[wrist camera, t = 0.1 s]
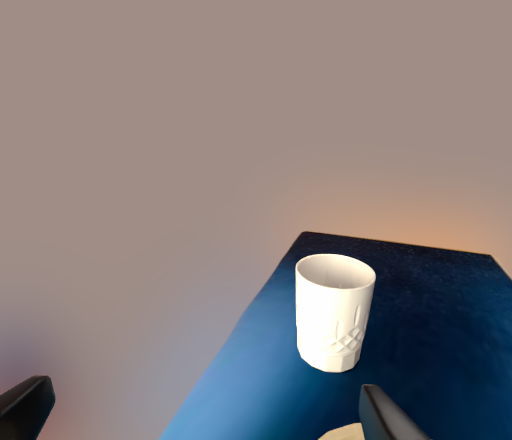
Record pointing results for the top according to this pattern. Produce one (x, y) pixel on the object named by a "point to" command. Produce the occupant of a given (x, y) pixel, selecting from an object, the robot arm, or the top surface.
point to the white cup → (332, 309)
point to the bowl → (345, 433)
